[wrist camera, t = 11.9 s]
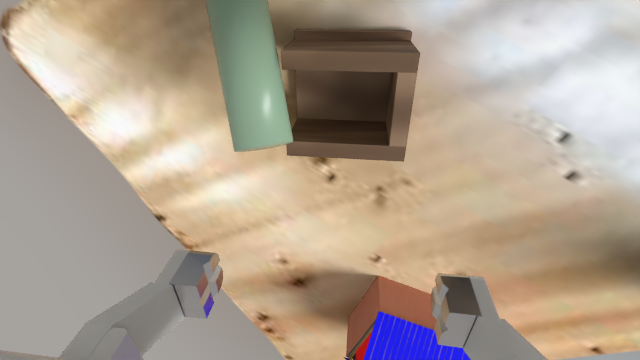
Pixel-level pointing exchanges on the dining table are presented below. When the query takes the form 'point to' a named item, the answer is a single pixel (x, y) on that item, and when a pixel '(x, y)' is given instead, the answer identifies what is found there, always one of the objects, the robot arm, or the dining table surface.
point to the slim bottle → (249, 74)
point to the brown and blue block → (396, 326)
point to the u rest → (352, 92)
